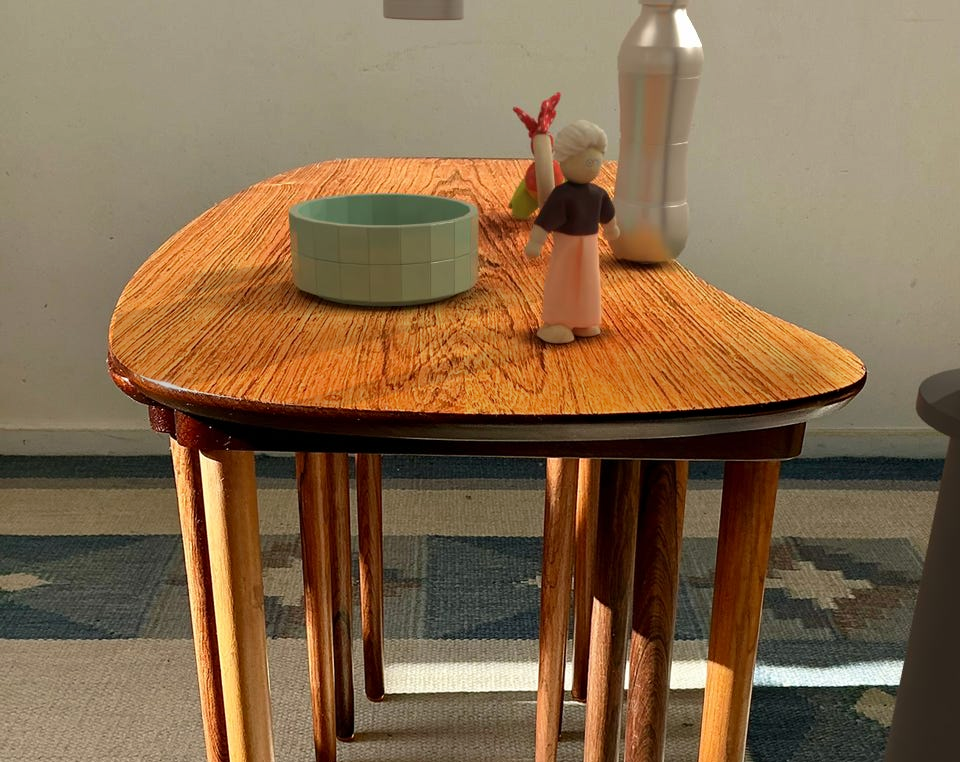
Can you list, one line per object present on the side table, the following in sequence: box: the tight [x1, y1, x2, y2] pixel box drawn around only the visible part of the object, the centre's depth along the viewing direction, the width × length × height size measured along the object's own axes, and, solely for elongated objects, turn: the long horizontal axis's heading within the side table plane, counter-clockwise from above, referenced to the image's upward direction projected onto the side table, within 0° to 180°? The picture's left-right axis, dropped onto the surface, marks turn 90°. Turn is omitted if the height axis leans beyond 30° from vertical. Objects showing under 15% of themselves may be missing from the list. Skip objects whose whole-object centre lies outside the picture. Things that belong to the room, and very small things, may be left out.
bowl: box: [288, 192, 480, 307], centre depth 87 cm, size 13×13×6 cm
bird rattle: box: [507, 91, 567, 221], centre depth 108 cm, size 6×11×9 cm
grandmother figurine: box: [524, 119, 620, 344], centre depth 75 cm, size 8×4×13 cm, turn 143°
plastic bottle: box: [607, 0, 705, 265], centre depth 92 cm, size 6×7×20 cm
